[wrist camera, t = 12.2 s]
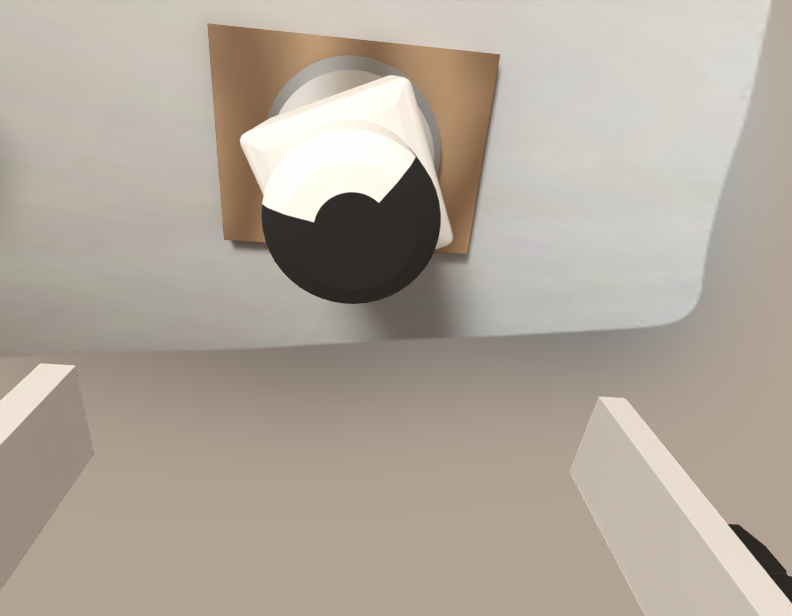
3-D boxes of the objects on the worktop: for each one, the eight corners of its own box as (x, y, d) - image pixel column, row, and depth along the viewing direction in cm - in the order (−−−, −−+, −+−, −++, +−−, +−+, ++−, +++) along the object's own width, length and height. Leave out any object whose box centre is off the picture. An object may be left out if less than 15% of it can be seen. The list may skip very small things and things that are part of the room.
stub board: (227, 234, 31) (211, 256, 28) (212, 25, 26) (189, 18, 22) (464, 248, 33) (477, 270, 29) (495, 55, 28) (515, 53, 24)
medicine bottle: (433, 204, 27) (482, 291, 17) (317, 242, 28) (293, 351, 17) (395, 72, 24) (427, 76, 13) (265, 119, 25) (197, 158, 14)
